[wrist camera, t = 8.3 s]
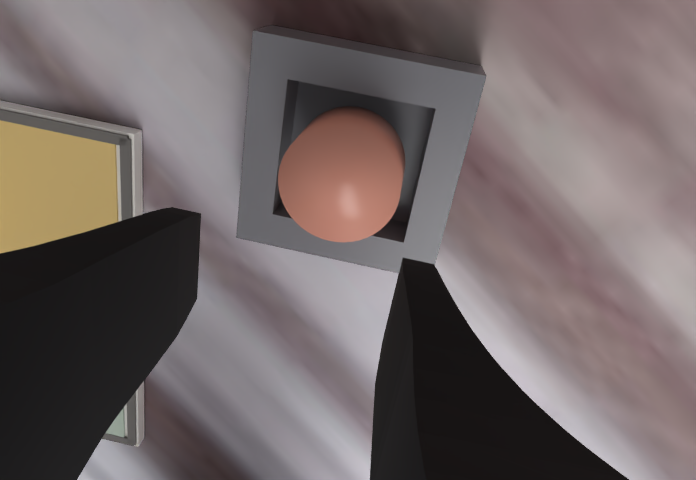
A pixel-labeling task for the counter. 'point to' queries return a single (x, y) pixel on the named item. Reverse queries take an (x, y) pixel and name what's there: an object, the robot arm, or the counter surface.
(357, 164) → the button
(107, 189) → the yellow and green board
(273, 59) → the button housing
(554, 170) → the counter surface
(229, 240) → the counter surface
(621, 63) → the counter surface
